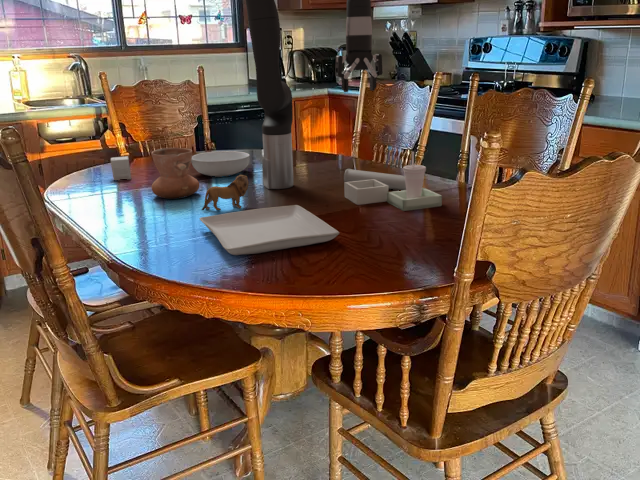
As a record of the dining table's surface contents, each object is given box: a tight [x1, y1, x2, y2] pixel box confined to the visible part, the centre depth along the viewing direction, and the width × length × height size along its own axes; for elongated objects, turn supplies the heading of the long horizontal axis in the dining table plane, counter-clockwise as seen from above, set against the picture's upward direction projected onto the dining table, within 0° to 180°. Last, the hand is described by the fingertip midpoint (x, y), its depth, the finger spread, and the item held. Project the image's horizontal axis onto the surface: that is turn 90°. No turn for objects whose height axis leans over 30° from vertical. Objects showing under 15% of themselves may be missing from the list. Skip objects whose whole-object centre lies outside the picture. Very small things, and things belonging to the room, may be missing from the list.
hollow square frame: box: [343, 179, 390, 206], centre depth 174 cm, size 10×10×4 cm
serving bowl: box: [191, 150, 251, 178], centre depth 212 cm, size 21×21×7 cm
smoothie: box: [402, 151, 427, 199], centre depth 166 cm, size 6×6×14 cm
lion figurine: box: [201, 174, 250, 211], centre depth 168 cm, size 15×5×9 cm, turn 121°
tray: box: [386, 187, 443, 212], centre depth 168 cm, size 12×10×3 cm
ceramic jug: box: [151, 147, 200, 200], centre depth 183 cm, size 18×14×14 cm
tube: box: [343, 168, 406, 191], centre depth 187 cm, size 5×5×25 cm
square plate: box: [199, 204, 340, 256], centre depth 144 cm, size 27×27×4 cm
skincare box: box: [110, 155, 132, 181], centre depth 210 cm, size 6×6×7 cm
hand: (359, 91), depth 177 cm, fingers open, 8 cm apart
